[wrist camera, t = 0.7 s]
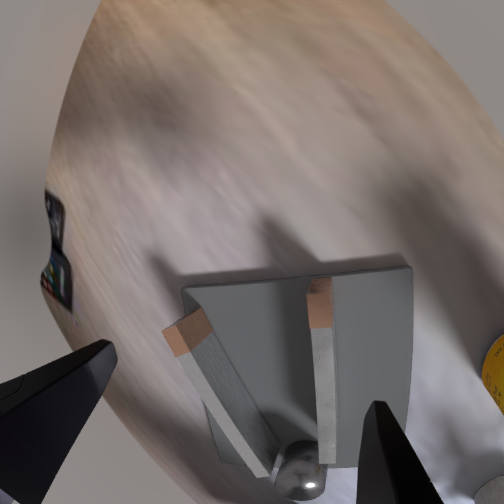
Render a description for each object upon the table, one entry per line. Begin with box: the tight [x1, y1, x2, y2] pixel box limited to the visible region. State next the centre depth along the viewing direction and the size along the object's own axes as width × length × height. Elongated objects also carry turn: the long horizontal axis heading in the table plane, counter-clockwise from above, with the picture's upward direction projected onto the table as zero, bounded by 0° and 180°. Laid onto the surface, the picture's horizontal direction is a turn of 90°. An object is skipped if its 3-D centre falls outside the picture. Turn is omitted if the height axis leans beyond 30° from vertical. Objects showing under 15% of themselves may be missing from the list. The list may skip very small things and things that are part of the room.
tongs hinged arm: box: [161, 308, 328, 501], centre depth 21 cm, size 18×5×4 cm, turn 28°
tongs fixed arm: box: [306, 277, 339, 464], centre depth 20 cm, size 13×1×4 cm, turn 8°
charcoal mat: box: [181, 266, 413, 468], centre depth 23 cm, size 18×17×1 cm
